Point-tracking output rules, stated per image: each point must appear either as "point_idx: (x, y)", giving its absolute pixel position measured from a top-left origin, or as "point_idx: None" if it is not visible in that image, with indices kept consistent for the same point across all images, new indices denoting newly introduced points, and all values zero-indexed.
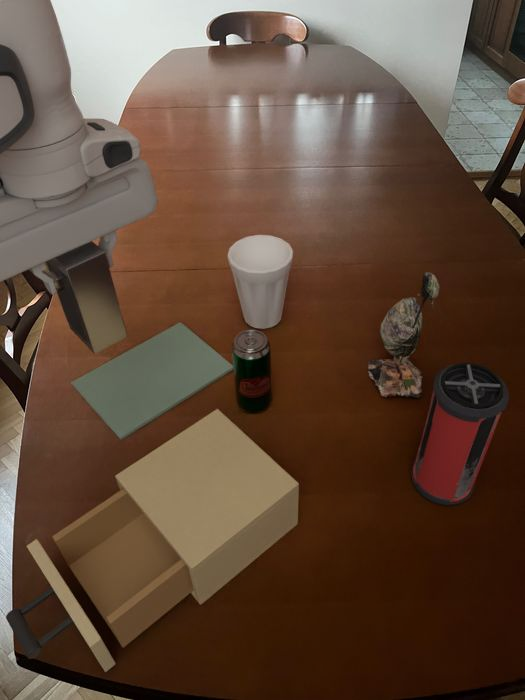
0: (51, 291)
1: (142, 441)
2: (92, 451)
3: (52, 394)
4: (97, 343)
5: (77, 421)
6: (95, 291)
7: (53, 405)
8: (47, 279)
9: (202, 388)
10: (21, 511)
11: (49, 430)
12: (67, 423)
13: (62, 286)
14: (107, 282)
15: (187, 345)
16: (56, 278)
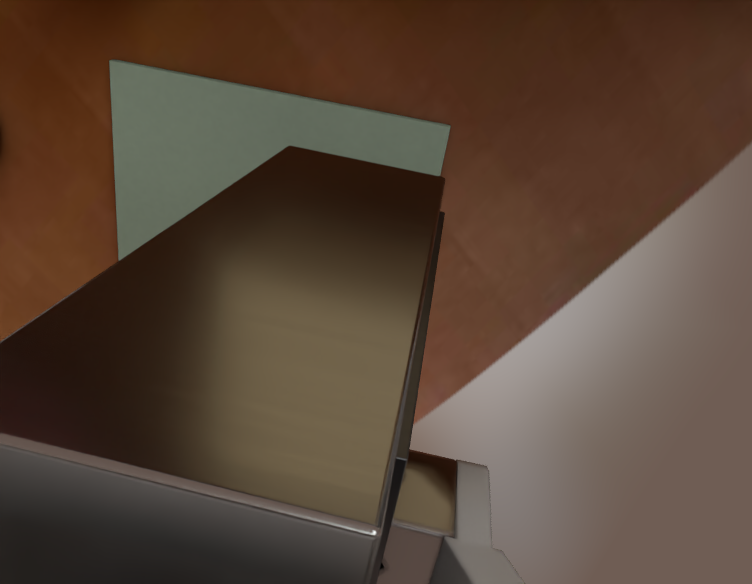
0: (488, 488)
1: (421, 77)
2: (513, 156)
3: (449, 349)
4: (416, 183)
5: (470, 250)
6: (275, 278)
7: (470, 325)
8: (497, 579)
9: (211, 78)
10: (733, 157)
11: (525, 281)
12: (488, 264)
13: (407, 466)
14: (162, 267)
15: (151, 209)
16: (416, 538)
